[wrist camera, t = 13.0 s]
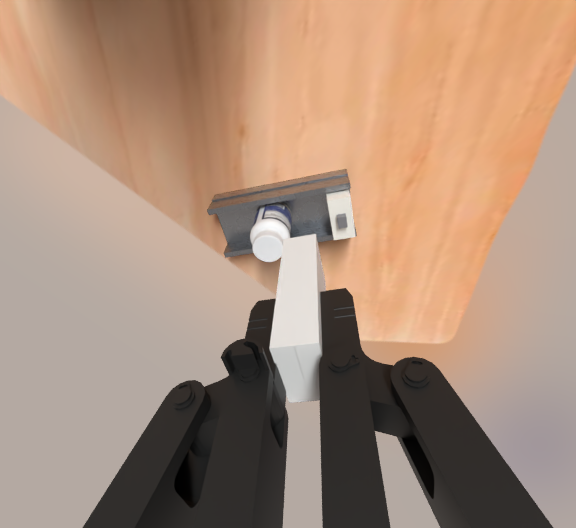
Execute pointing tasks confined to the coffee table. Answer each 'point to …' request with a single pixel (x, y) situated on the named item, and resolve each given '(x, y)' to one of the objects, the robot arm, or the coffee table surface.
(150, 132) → the coffee table surface
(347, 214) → the mounted module
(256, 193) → the rail
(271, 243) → the pill bottle
